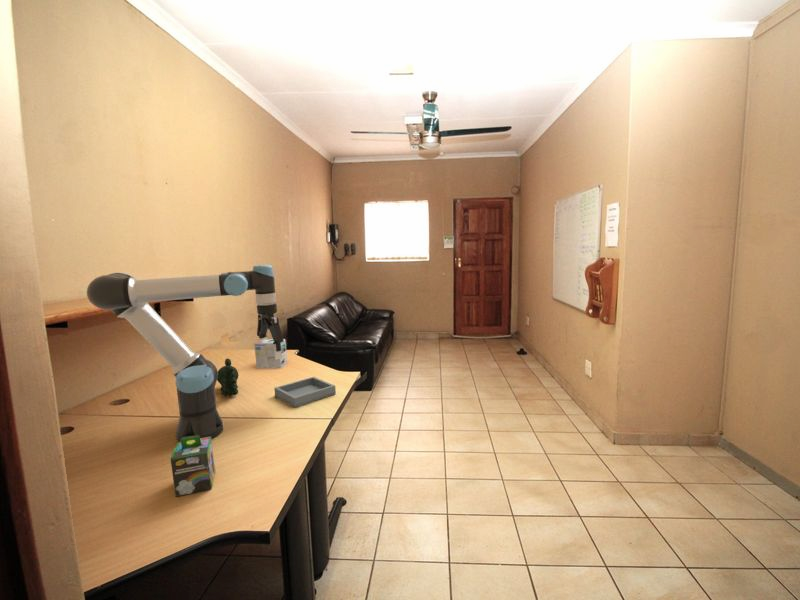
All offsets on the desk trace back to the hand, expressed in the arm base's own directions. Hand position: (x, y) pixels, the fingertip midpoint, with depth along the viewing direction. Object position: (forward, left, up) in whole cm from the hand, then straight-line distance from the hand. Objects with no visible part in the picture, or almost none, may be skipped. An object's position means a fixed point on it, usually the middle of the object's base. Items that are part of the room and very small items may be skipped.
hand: (271, 356), depth 159 cm
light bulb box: (0, 0, -5) cm, 5 cm away
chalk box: (-41, -34, -22) cm, 57 cm away
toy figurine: (-7, +32, -22) cm, 39 cm away
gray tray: (+15, +2, -22) cm, 27 cm away
